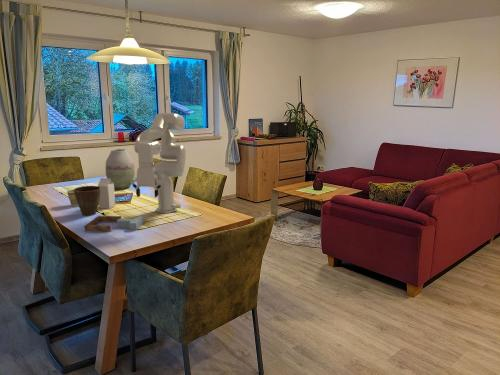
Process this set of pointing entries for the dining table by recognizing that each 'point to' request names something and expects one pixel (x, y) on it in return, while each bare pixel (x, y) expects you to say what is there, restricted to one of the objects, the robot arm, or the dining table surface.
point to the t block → (130, 223)
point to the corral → (103, 228)
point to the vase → (120, 168)
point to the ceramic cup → (72, 198)
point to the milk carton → (106, 193)
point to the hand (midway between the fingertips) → (147, 196)
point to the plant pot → (87, 199)
